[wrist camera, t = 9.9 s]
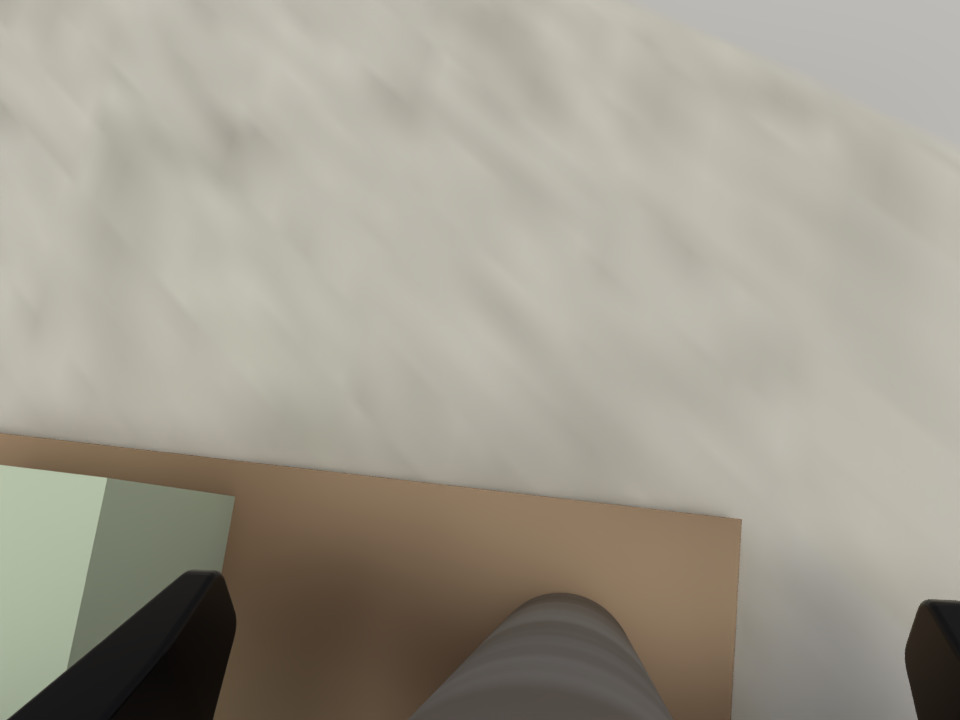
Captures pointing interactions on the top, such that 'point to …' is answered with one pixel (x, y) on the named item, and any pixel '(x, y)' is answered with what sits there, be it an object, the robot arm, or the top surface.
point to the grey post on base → (449, 595)
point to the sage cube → (89, 564)
